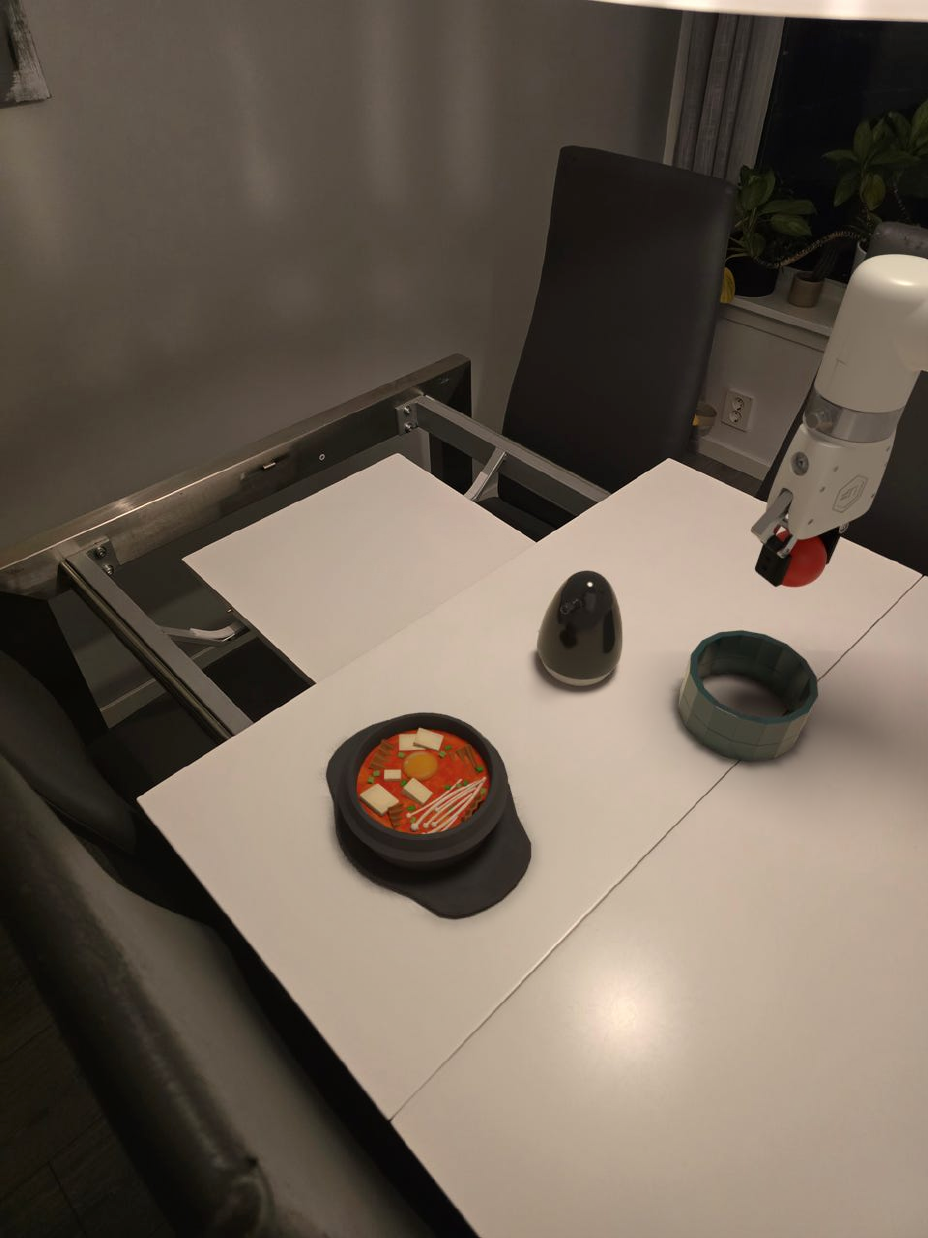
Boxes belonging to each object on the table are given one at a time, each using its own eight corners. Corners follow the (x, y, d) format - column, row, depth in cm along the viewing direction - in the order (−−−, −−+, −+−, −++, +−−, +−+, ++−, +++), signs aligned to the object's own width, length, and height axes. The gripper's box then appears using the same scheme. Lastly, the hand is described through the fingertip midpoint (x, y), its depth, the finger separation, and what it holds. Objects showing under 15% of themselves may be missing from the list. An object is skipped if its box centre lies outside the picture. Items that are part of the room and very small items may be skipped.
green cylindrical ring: (736, 661, 99) (753, 615, 93) (821, 736, 90) (844, 691, 85) (652, 702, 94) (664, 657, 88) (733, 787, 85) (753, 742, 80)
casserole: (572, 850, 80) (580, 805, 74) (426, 967, 71) (423, 926, 66) (425, 702, 94) (422, 654, 88) (288, 785, 85) (275, 738, 79)
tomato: (805, 561, 84) (826, 509, 79) (823, 599, 80) (847, 547, 75) (750, 561, 84) (767, 509, 79) (764, 599, 80) (784, 546, 75)
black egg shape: (518, 674, 97) (525, 583, 86) (562, 627, 103) (574, 536, 92) (589, 714, 92) (605, 623, 82) (631, 662, 98) (652, 571, 88)
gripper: (815, 458, 63) (755, 618, 75) (954, 405, 69) (877, 562, 81) (748, 416, 67) (702, 573, 80) (884, 370, 73) (822, 523, 86)
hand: (791, 566), depth 81 cm, fingers closed on tomato, 6 cm apart
